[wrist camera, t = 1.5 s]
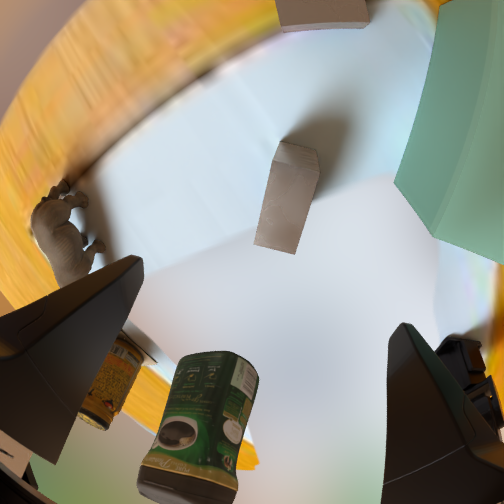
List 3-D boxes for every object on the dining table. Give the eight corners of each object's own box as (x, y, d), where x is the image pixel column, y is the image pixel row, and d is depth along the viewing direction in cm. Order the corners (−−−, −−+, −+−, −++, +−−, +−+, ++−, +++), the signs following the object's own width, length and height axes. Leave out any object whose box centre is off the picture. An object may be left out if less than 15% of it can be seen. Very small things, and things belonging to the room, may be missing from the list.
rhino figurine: (103, 294, 29) (76, 331, 24) (55, 182, 22) (12, 210, 17) (130, 295, 28) (103, 336, 24) (81, 173, 21) (35, 203, 16)
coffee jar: (205, 386, 36) (167, 507, 21) (171, 351, 33) (116, 487, 17) (270, 381, 33) (242, 524, 17) (241, 342, 29) (195, 515, 14)
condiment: (128, 367, 38) (96, 431, 28) (88, 330, 35) (47, 395, 25) (157, 362, 35) (124, 438, 25) (113, 320, 32) (66, 397, 22)
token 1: (297, 216, 20) (294, 254, 16) (264, 207, 20) (253, 244, 16) (315, 150, 18) (320, 172, 13) (280, 140, 18) (272, 160, 14)
